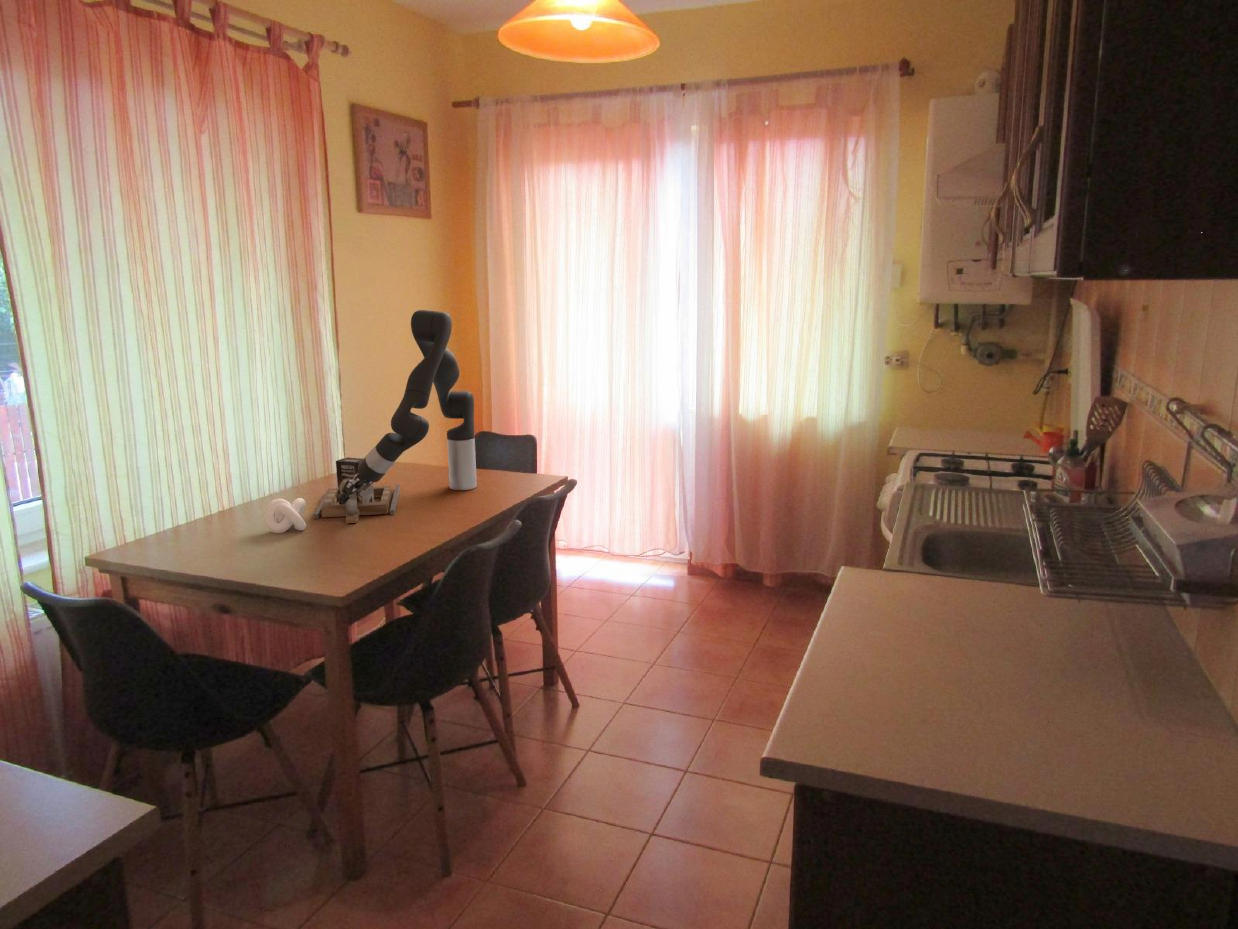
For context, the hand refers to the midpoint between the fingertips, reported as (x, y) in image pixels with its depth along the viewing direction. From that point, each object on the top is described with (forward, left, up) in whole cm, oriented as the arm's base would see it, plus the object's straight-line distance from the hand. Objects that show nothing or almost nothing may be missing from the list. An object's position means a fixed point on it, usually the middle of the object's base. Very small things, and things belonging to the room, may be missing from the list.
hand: (345, 500), depth 256 cm
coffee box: (-12, +2, -7) cm, 14 cm away
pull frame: (-13, +2, -6) cm, 14 cm away
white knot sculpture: (+6, -16, -7) cm, 19 cm away
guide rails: (-20, +2, -6) cm, 21 cm away
